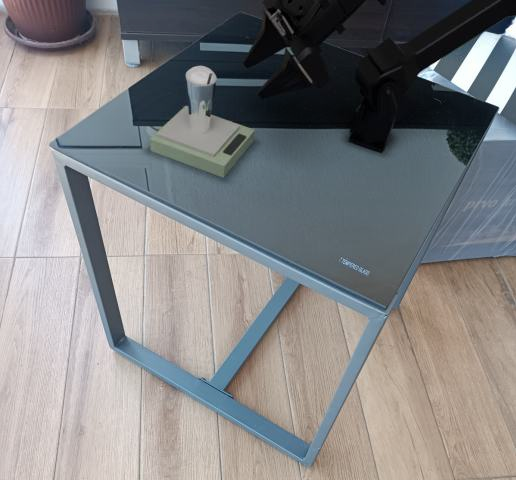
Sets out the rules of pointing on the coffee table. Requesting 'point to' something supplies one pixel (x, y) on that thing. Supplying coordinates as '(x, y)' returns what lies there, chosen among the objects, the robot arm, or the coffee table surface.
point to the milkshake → (200, 97)
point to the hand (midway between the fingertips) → (251, 80)
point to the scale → (203, 143)
